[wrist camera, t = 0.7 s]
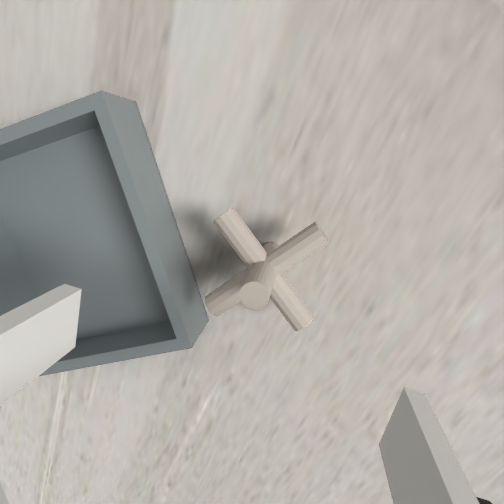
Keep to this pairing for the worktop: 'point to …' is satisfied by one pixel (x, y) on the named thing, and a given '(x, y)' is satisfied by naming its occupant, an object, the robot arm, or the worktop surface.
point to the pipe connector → (265, 270)
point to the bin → (95, 231)
